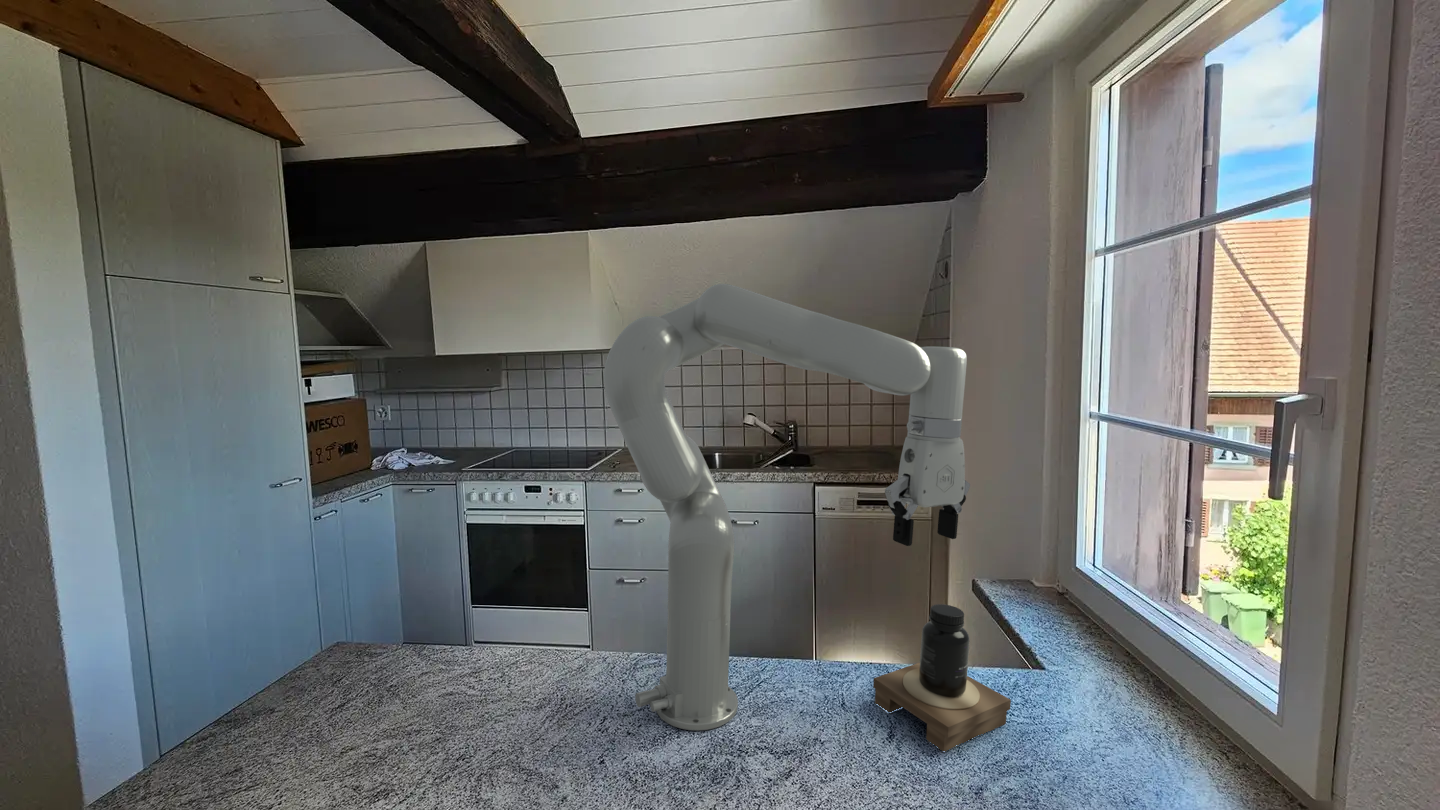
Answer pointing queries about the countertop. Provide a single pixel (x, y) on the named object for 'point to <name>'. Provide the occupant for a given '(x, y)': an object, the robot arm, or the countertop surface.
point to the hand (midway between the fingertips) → (924, 539)
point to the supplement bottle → (944, 652)
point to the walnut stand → (943, 706)
